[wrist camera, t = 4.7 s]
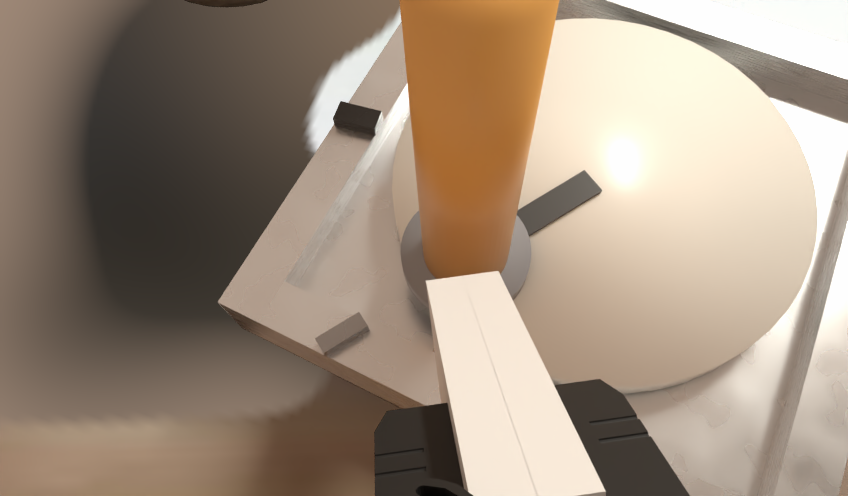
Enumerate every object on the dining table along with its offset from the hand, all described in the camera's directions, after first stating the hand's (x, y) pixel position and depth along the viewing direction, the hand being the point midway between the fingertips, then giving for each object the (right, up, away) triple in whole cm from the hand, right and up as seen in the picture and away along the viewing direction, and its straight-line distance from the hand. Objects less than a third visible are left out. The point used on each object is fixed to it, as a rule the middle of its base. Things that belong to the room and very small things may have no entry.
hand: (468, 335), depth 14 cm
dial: (+6, +4, +16) cm, 18 cm away
